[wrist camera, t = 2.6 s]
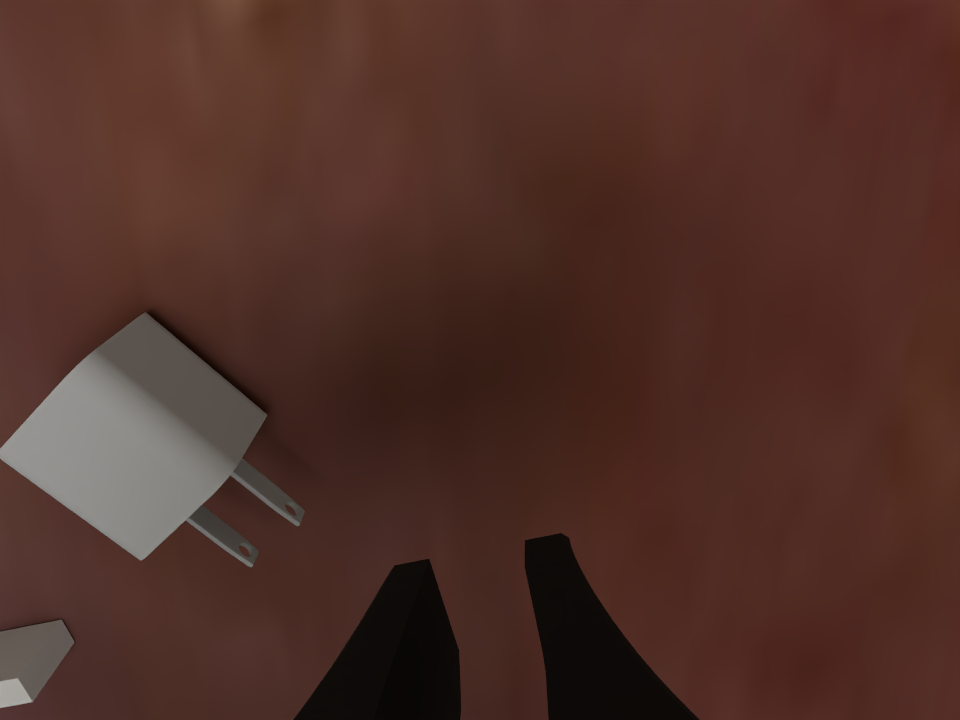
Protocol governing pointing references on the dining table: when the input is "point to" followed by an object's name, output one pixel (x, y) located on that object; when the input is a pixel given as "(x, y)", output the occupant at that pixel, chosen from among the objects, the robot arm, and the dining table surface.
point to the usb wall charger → (145, 442)
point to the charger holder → (30, 660)
